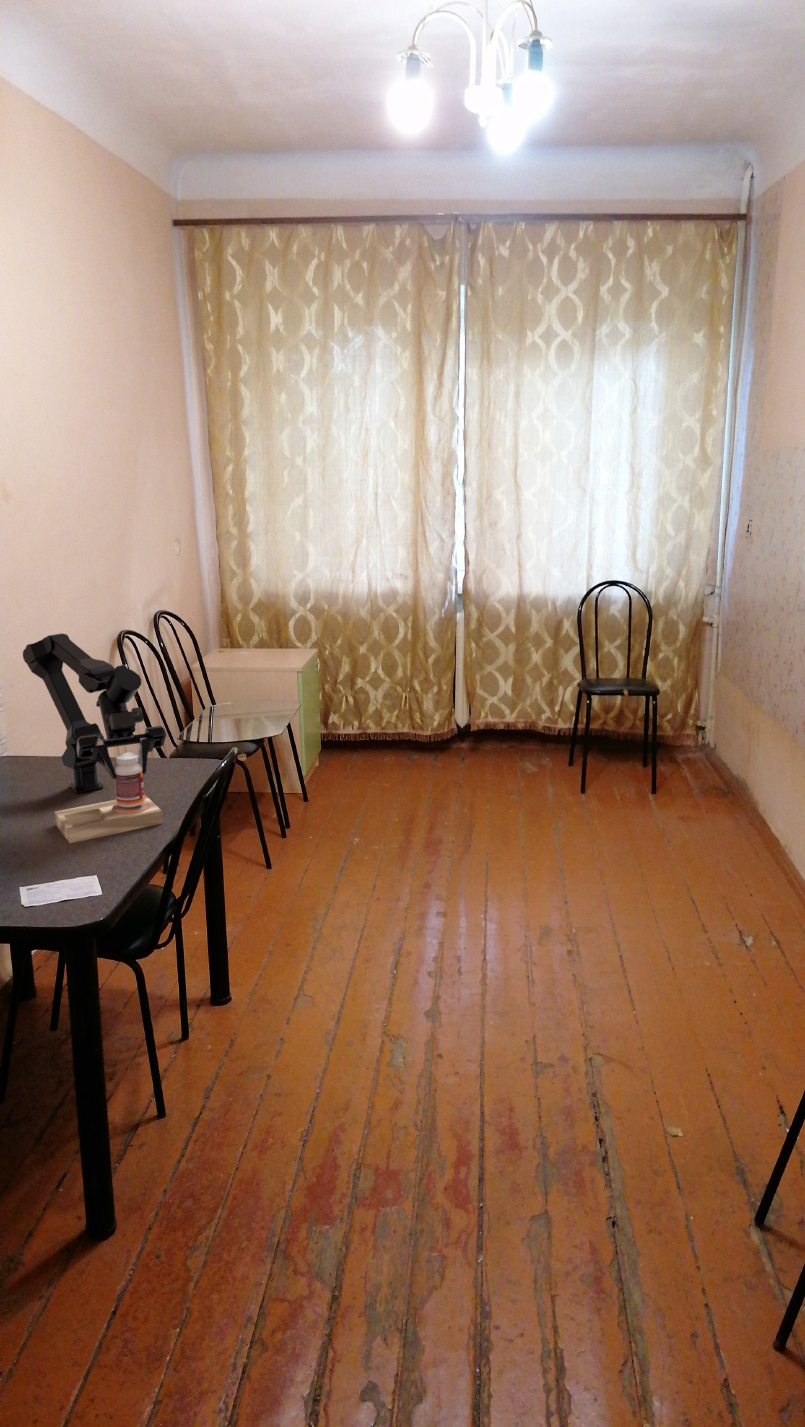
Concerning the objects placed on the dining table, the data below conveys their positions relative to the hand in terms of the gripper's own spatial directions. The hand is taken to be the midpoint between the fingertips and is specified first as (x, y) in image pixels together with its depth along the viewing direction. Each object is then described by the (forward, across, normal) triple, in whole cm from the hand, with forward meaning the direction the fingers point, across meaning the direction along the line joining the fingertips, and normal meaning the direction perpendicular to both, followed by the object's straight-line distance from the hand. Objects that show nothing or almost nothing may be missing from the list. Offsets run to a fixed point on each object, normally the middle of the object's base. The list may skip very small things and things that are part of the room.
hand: (129, 775), depth 208 cm
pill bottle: (+4, 0, +6) cm, 7 cm away
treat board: (+7, -5, +8) cm, 12 cm away
